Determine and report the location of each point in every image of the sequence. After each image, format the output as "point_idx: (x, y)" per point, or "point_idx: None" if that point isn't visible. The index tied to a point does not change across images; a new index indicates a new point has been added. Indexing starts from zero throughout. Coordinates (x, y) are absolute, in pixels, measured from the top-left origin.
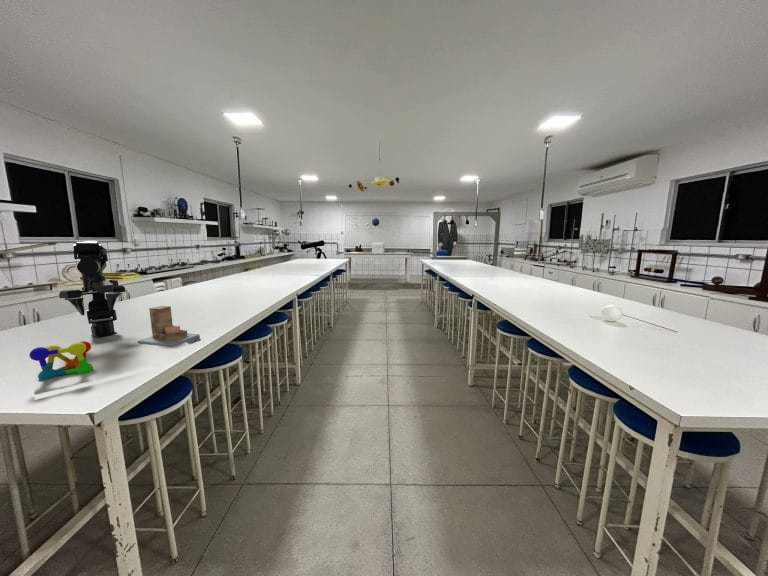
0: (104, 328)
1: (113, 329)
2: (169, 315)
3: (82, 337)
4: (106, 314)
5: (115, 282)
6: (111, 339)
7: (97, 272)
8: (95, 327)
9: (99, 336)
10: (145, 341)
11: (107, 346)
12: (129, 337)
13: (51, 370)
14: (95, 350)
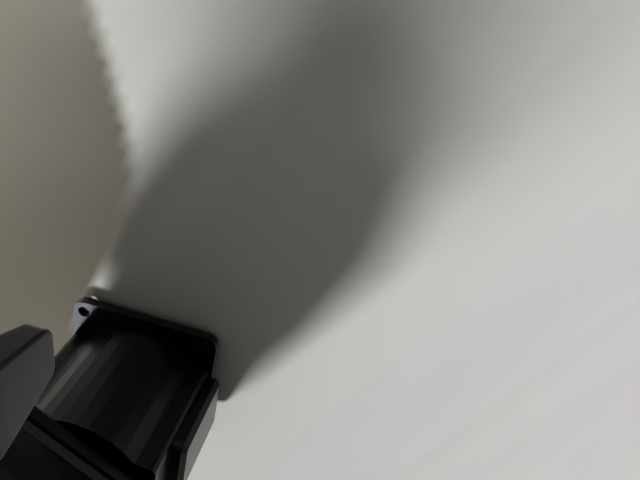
0: (134, 383)
1: (68, 349)
2: None
3: (239, 470)
4: (28, 475)
5: None
6: (231, 197)
7: None
8: (181, 443)
9: (212, 351)
10: None
11: (457, 6)
12: (129, 58)
13: None
14: (611, 12)
